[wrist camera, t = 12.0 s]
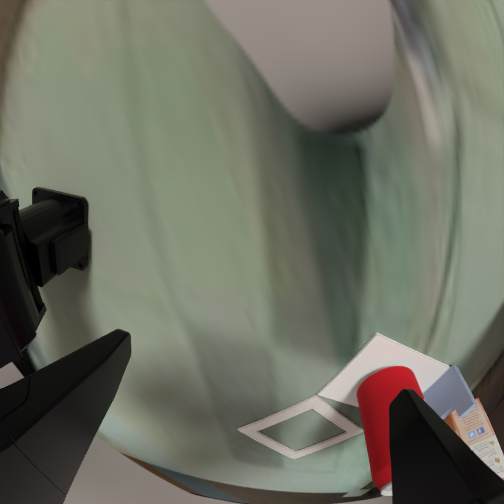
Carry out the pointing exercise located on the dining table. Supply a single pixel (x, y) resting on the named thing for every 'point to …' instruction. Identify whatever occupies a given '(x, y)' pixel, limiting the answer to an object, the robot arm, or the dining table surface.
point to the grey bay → (292, 411)
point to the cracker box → (478, 436)
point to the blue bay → (395, 354)
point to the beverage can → (382, 417)
